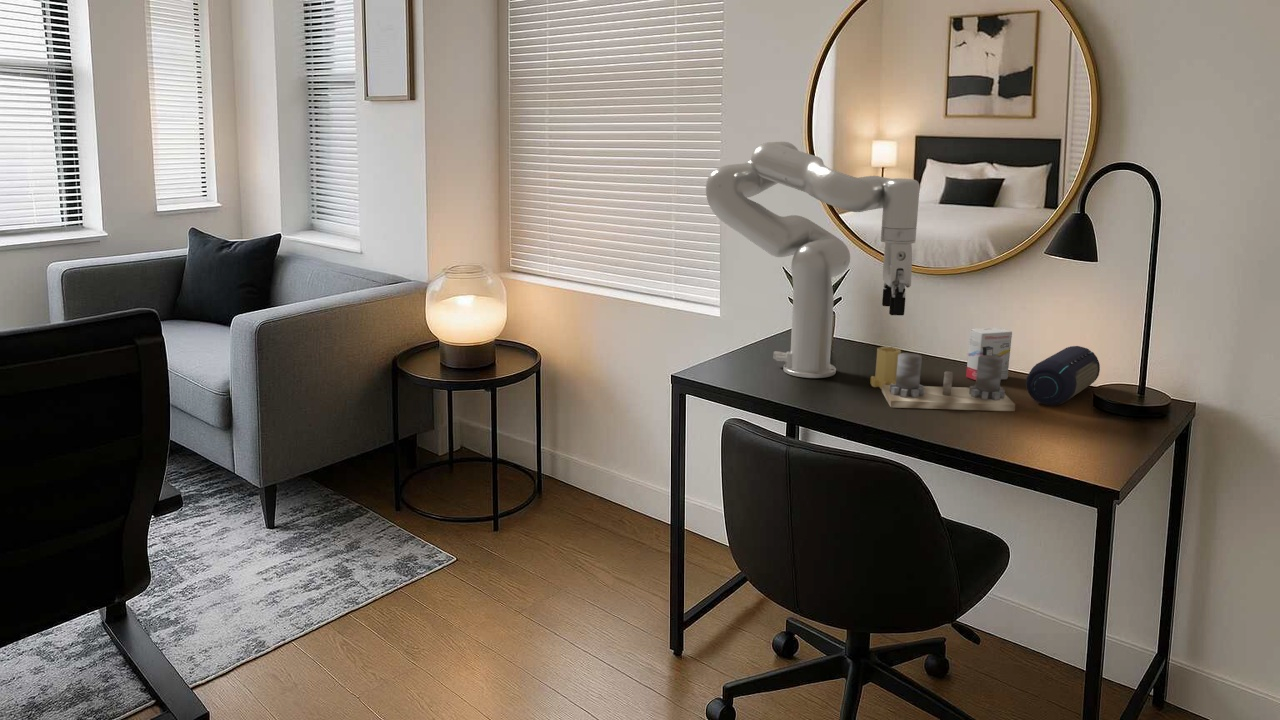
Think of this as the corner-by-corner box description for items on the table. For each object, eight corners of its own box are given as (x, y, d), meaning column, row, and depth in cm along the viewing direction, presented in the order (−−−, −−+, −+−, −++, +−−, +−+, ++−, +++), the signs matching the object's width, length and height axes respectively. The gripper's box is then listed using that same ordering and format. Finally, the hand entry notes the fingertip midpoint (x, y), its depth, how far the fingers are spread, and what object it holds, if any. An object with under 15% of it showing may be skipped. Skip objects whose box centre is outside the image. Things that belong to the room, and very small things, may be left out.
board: (890, 407, 209) (894, 362, 206) (881, 391, 220) (884, 348, 218) (1014, 411, 207) (1019, 366, 204) (998, 394, 219) (1003, 351, 216)
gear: (873, 389, 222) (875, 353, 220) (868, 380, 229) (871, 345, 227) (904, 390, 221) (907, 354, 219) (899, 381, 228) (902, 346, 226)
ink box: (977, 382, 228) (982, 333, 225) (964, 376, 233) (969, 328, 230) (1008, 379, 231) (1014, 331, 228) (995, 374, 235) (1000, 326, 232)
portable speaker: (1065, 413, 206) (1071, 368, 204) (1018, 404, 213) (1023, 360, 210) (1101, 388, 225) (1107, 346, 222) (1057, 380, 231) (1062, 339, 228)
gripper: (923, 240, 207) (917, 319, 212) (908, 230, 224) (902, 303, 229) (887, 240, 208) (882, 318, 212) (875, 230, 225) (870, 302, 229)
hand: (892, 310), depth 220 cm, fingers open, 9 cm apart
